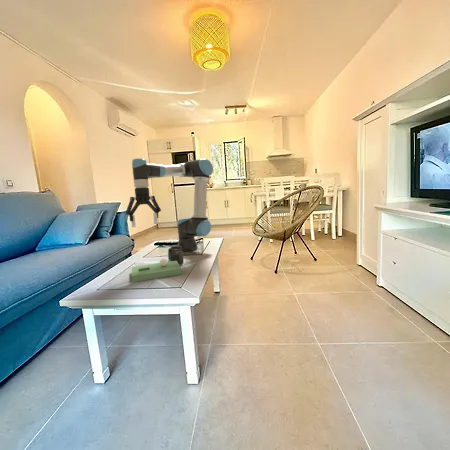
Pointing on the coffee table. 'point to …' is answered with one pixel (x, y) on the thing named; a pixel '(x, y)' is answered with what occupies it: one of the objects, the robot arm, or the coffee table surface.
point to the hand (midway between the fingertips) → (145, 225)
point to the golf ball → (163, 262)
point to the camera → (175, 254)
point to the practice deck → (155, 271)
